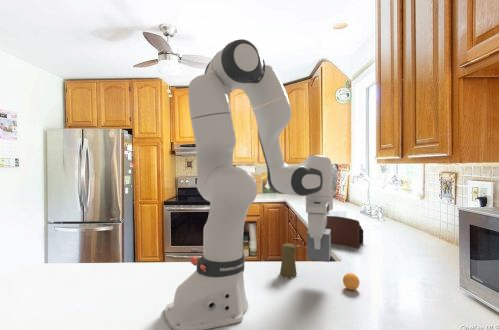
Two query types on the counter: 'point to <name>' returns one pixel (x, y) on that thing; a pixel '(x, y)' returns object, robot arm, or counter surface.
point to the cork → (288, 261)
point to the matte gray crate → (324, 251)
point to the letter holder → (345, 231)
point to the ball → (351, 281)
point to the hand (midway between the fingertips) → (319, 244)
